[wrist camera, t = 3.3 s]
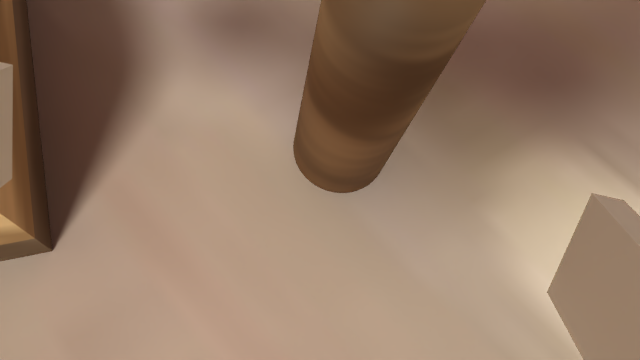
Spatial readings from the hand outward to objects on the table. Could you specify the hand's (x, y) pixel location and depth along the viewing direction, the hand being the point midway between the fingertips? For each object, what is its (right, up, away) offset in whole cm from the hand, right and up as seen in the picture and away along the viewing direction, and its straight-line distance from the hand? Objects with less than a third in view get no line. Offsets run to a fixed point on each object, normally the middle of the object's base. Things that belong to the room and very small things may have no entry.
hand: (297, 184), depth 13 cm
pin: (+1, +1, +12) cm, 12 cm away
